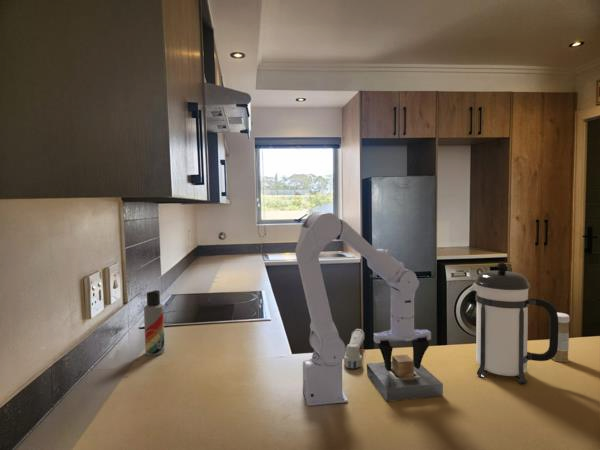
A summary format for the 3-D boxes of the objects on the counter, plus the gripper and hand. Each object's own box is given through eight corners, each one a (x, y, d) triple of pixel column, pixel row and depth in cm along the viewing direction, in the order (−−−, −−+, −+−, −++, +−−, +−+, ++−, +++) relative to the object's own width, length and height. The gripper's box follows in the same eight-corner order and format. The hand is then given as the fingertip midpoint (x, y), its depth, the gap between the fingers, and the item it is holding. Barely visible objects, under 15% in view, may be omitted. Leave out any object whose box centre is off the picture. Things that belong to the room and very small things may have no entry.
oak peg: (398, 389, 90) (398, 362, 90) (392, 382, 94) (392, 355, 94) (413, 388, 91) (413, 360, 90) (406, 381, 95) (406, 354, 94)
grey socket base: (386, 401, 85) (386, 388, 85) (366, 374, 99) (366, 362, 98) (442, 395, 87) (442, 382, 87) (415, 370, 101) (415, 358, 100)
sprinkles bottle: (546, 355, 109) (547, 311, 108) (563, 357, 108) (564, 312, 107) (554, 362, 104) (554, 316, 104) (572, 363, 103) (572, 316, 103)
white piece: (366, 328, 125) (360, 344, 101) (366, 348, 125) (360, 369, 101) (351, 327, 127) (342, 343, 102) (351, 347, 126) (341, 367, 102)
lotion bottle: (153, 357, 112) (151, 293, 111) (141, 354, 115) (139, 291, 114) (168, 351, 117) (166, 289, 116) (156, 347, 120) (154, 287, 119)
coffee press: (501, 391, 88) (502, 269, 87) (458, 364, 104) (459, 260, 103) (559, 382, 92) (561, 265, 91) (509, 357, 108) (510, 257, 107)
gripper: (380, 322, 87) (380, 377, 87) (437, 318, 89) (437, 372, 90) (370, 313, 94) (370, 365, 94) (423, 310, 96) (423, 361, 97)
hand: (402, 368), depth 92 cm, fingers open, 7 cm apart
